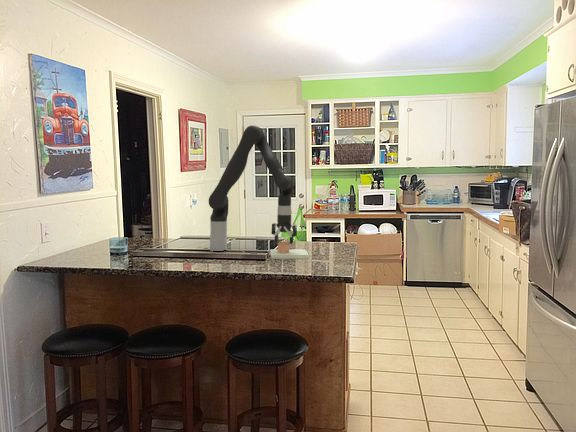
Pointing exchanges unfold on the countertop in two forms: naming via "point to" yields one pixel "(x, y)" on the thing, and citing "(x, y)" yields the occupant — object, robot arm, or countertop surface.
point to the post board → (289, 254)
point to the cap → (283, 247)
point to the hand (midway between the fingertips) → (283, 243)
